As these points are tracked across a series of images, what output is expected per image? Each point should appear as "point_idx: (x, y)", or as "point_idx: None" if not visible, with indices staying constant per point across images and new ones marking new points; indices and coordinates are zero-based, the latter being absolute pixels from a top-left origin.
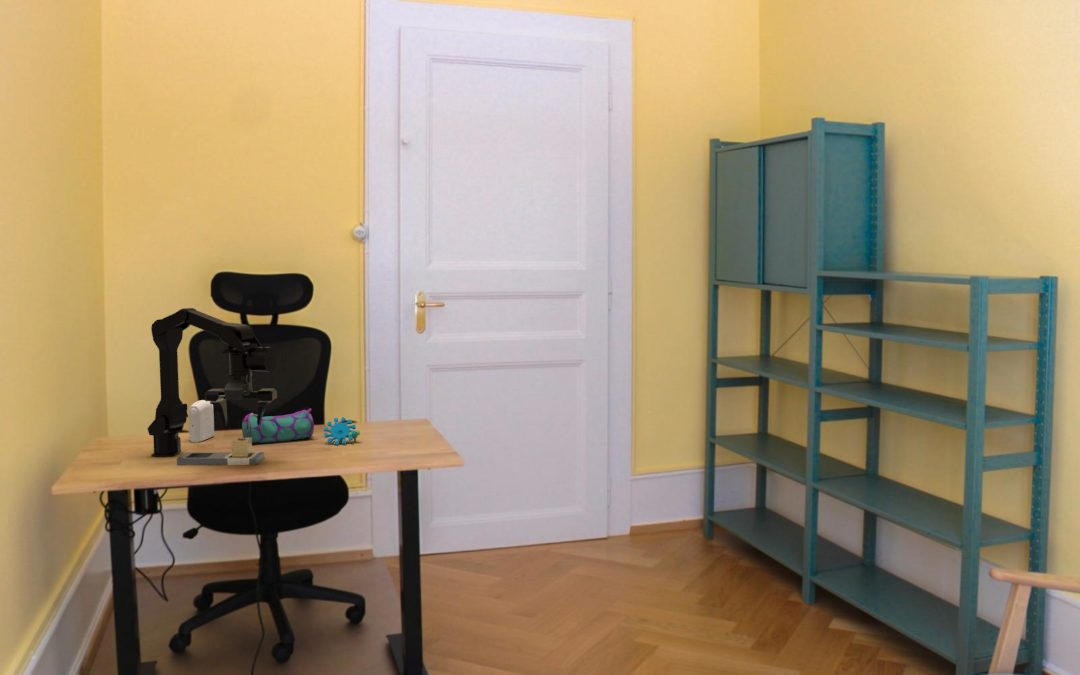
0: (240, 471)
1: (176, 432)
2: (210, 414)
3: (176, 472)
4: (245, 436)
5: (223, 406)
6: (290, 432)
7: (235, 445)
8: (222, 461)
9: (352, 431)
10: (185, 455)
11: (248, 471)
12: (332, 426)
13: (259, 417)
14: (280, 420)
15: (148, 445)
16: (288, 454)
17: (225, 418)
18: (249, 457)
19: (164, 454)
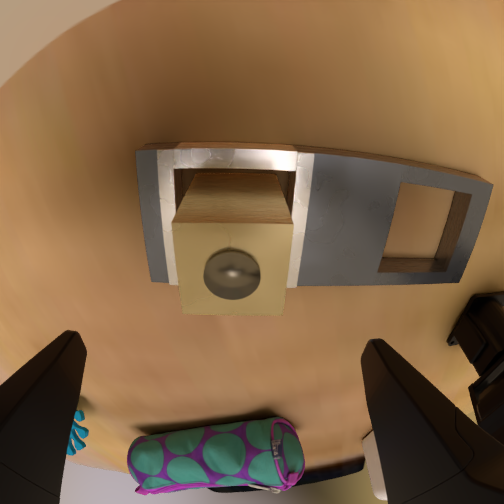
0: (186, 7)
1: (484, 371)
2: (378, 475)
3: (463, 45)
4: (290, 435)
5: (442, 498)
6: (173, 443)
7: (261, 208)
8: (320, 150)
9: None
10: (468, 234)
11: (147, 11)
12: (70, 435)
13: (22, 372)
14: (196, 474)
15: None
16: (104, 319)
17: (391, 392)
18: (171, 154)
19: (490, 296)
